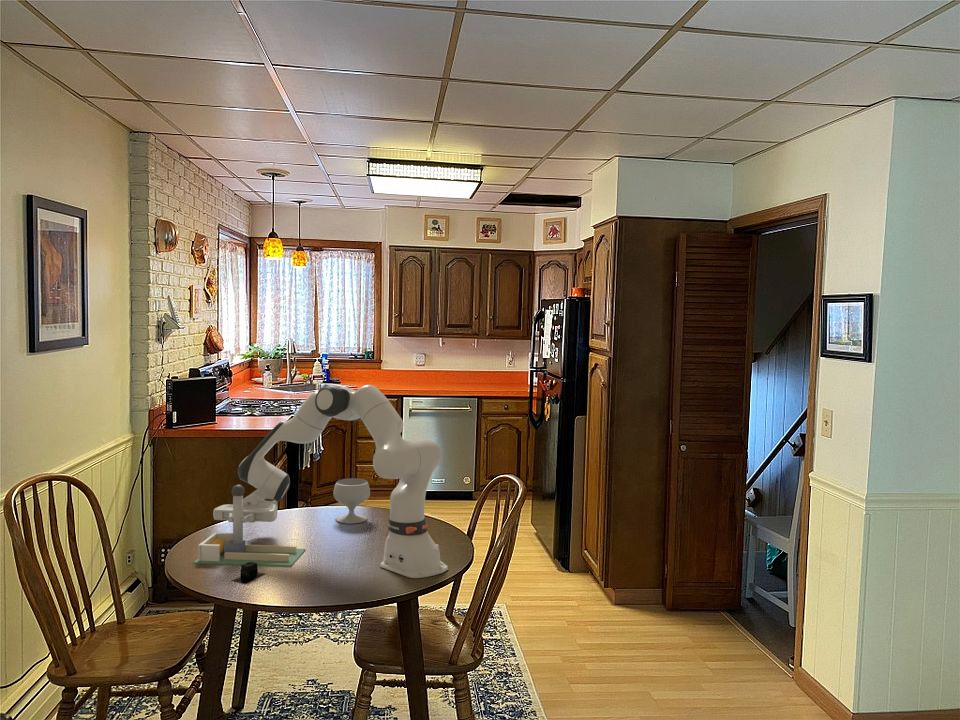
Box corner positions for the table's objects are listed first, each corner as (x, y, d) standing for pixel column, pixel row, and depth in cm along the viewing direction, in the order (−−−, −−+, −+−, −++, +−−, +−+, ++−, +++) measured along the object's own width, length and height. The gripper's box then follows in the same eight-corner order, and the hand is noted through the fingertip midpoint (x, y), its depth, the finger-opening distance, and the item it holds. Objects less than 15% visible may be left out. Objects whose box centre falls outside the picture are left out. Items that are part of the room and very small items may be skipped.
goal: (298, 550, 236) (298, 535, 235) (286, 563, 223) (286, 547, 222) (214, 547, 236) (214, 532, 236) (198, 560, 223) (198, 545, 223)
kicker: (246, 551, 232) (247, 483, 231) (241, 556, 227) (241, 486, 226) (230, 550, 232) (230, 482, 231) (224, 555, 227) (224, 486, 226)
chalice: (371, 524, 269) (372, 485, 268) (334, 526, 265) (335, 486, 264) (367, 514, 282) (367, 477, 282) (331, 516, 278) (332, 478, 278)
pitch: (305, 550, 237) (305, 548, 237) (291, 566, 221) (291, 565, 221) (213, 547, 238) (213, 545, 238) (193, 563, 222) (193, 562, 222)
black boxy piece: (254, 570, 219) (254, 556, 218) (273, 574, 216) (273, 559, 216) (224, 583, 207) (224, 568, 207) (244, 588, 204) (244, 572, 204)
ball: (208, 555, 230) (223, 559, 229) (206, 547, 226) (221, 551, 226) (214, 542, 233) (229, 545, 233) (213, 534, 230) (228, 537, 230)
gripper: (222, 498, 242) (205, 509, 228) (281, 500, 242) (268, 511, 228) (222, 516, 242) (205, 528, 229) (281, 518, 242) (268, 530, 228)
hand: (237, 519), depth 228 cm, fingers closed on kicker, 3 cm apart
